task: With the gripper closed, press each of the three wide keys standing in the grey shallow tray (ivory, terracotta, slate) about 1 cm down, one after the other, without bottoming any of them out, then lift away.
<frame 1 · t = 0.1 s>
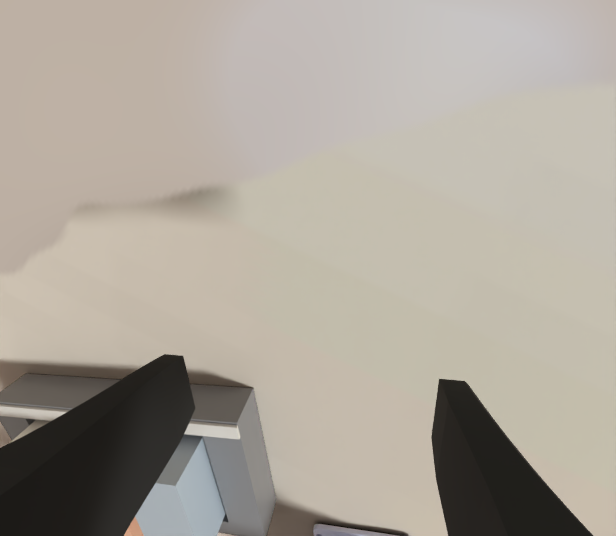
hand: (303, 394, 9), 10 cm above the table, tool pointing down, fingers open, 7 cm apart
terracotta key: (117, 485, 24), point 4 cm above the table, slide at 0.0 cm
ivory key: (60, 477, 25), point 4 cm above the table, slide at 0.0 cm
slate key: (179, 494, 23), point 4 cm above the table, slide at 0.0 cm
grey shallow tray: (151, 437, 28), on the table
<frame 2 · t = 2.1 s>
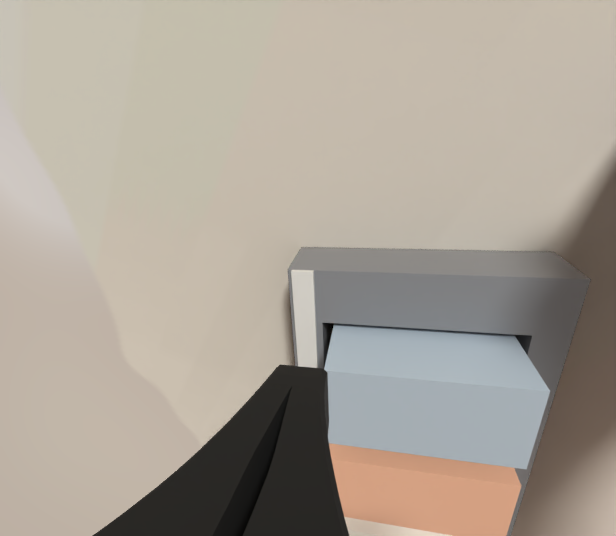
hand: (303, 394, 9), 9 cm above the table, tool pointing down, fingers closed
terracotta key: (411, 463, 17), point 4 cm above the table, slide at 0.0 cm
ivory key: (405, 524, 19), point 4 cm above the table, slide at 0.0 cm
slate key: (419, 385, 15), point 4 cm above the table, slide at 0.0 cm
grey shallow tray: (405, 402, 21), on the table
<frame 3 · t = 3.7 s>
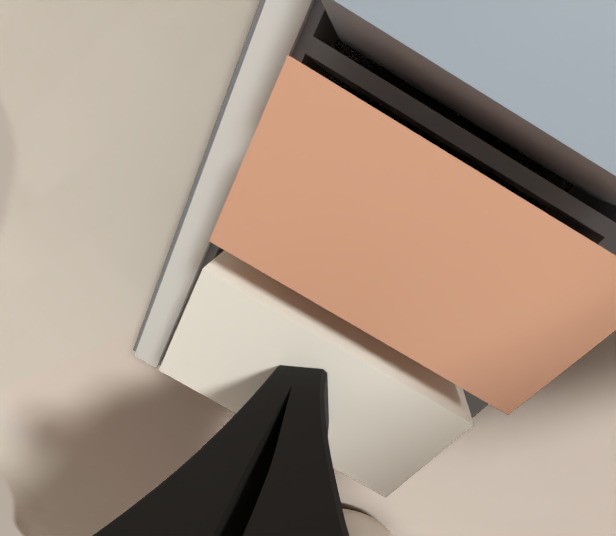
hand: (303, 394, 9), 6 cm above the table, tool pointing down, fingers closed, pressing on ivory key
terracotta key: (407, 233, 8), point 4 cm above the table, slide at 0.0 cm
plastic bottle: (351, 524, 21), on the table
ivory key: (315, 353, 11), point 4 cm above the table, slide at 0.4 cm, touching gripper
slate key: (565, 18, 6), point 4 cm above the table, slide at 0.0 cm
grey shallow tray: (398, 199, 12), on the table
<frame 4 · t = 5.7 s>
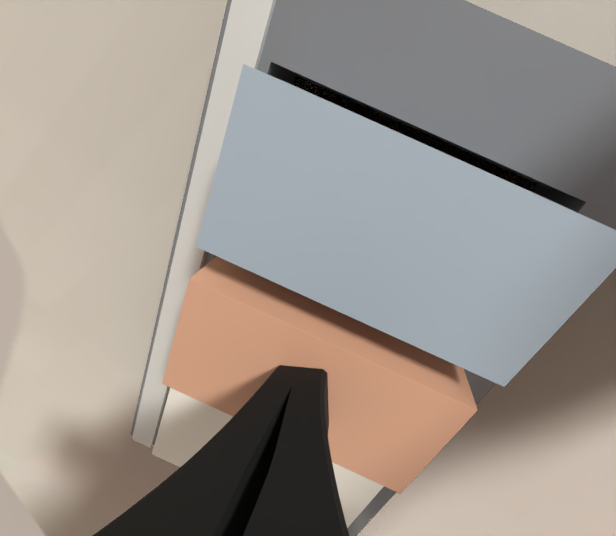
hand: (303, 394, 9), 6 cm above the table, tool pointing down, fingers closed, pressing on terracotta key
terracotta key: (315, 353, 11), point 4 cm above the table, slide at 0.1 cm, touching gripper
ivory key: (273, 426, 14), point 3 cm above the table, slide at 0.9 cm
slate key: (387, 220, 9), point 4 cm above the table, slide at 0.0 cm
grey shallow tray: (331, 296, 15), on the table
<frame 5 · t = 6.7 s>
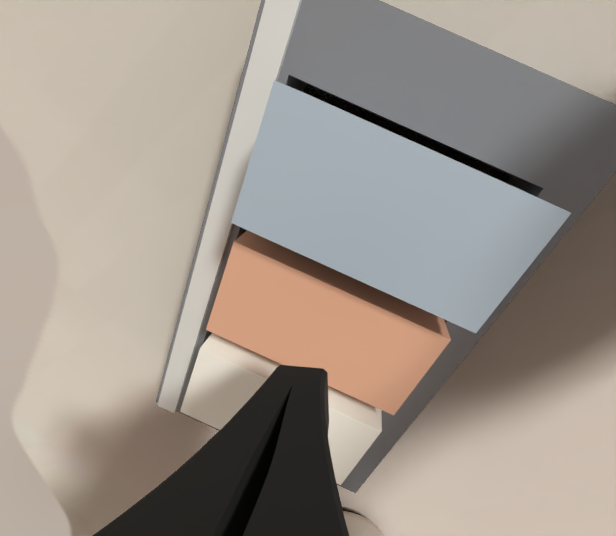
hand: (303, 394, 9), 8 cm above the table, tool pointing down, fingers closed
terracotta key: (326, 308, 14), point 3 cm above the table, slide at 0.9 cm
plastic bottle: (348, 524, 25), on the table
ivory key: (285, 388, 16), point 3 cm above the table, slide at 0.9 cm
slate key: (383, 203, 11), point 4 cm above the table, slide at 0.0 cm
grey shallow tray: (335, 276, 17), on the table
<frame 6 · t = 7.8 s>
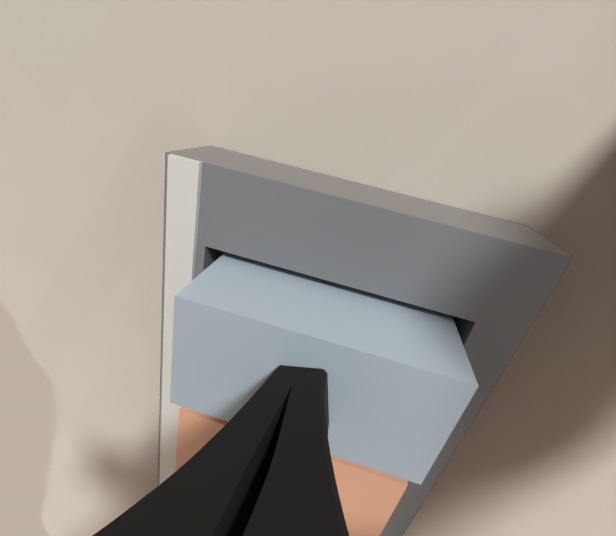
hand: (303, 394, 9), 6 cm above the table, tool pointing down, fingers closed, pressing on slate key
terracotta key: (291, 437, 14), point 3 cm above the table, slide at 0.9 cm
slate key: (315, 353, 11), point 4 cm above the table, slide at 0.3 cm, touching gripper
grey shallow tray: (307, 383, 17), on the table
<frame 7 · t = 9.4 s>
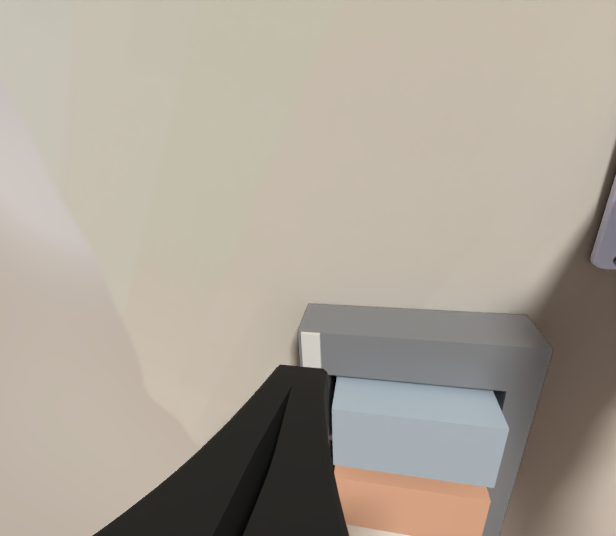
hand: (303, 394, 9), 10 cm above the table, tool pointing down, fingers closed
terracotta key: (403, 479, 20), point 3 cm above the table, slide at 0.9 cm
ivory key: (399, 530, 22), point 3 cm above the table, slide at 0.9 cm
slate key: (409, 418, 18), point 3 cm above the table, slide at 0.9 cm
grey shallow tray: (400, 435, 23), on the table
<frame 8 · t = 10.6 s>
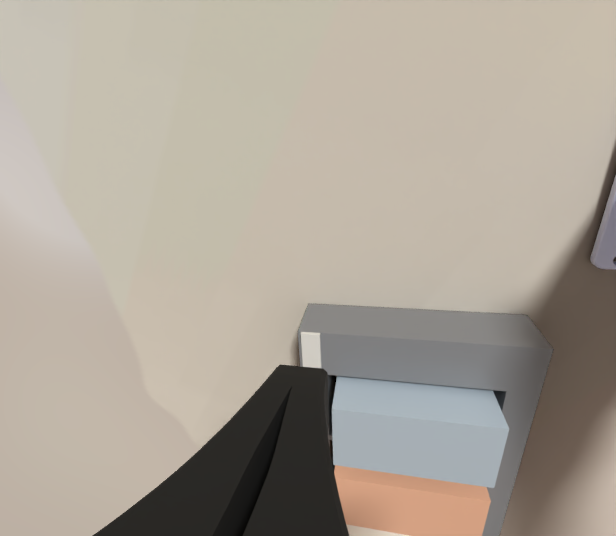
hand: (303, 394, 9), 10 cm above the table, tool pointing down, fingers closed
terracotta key: (403, 479, 20), point 3 cm above the table, slide at 0.9 cm
ivory key: (399, 530, 22), point 3 cm above the table, slide at 0.9 cm
slate key: (409, 418, 18), point 3 cm above the table, slide at 0.9 cm
grey shallow tray: (400, 435, 23), on the table
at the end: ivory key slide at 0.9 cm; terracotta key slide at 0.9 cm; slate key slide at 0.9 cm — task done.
